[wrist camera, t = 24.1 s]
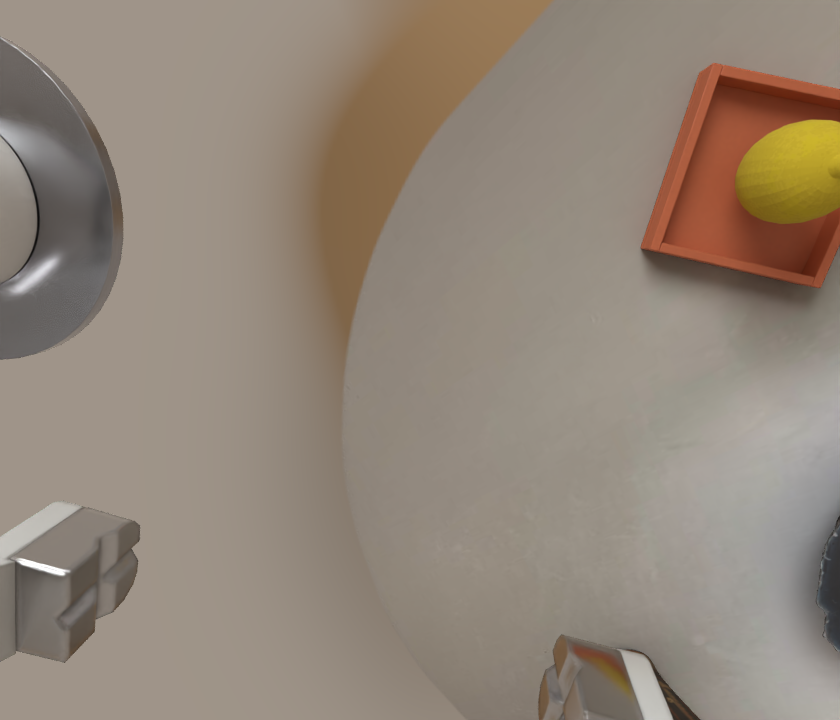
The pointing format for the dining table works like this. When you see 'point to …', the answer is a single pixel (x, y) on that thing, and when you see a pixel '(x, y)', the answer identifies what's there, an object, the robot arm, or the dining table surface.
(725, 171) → the tray
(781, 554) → the dining table surface
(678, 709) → the cup
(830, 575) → the board
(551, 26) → the dining table surface
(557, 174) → the dining table surface
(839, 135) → the lemon
